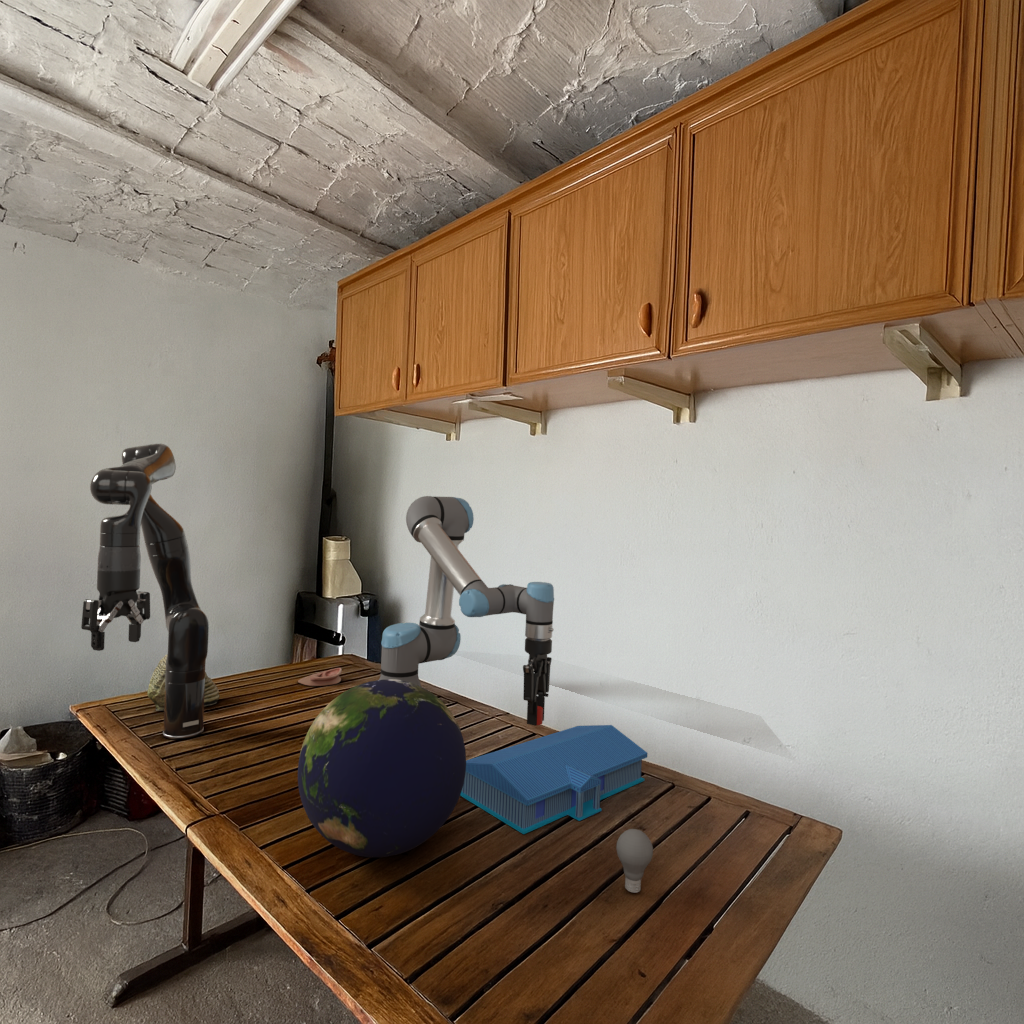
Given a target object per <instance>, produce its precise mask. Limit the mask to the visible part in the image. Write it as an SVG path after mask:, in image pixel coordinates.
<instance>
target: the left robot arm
mask: <svg viewBox="0 0 1024 1024" xmlns="http://www.w3.org/2000/svg"><path fill="white" fill-rule="evenodd" d="M172 451H173V450H172V449H171V447H169V446H168V445H167V444H165V443H152V444H144V445H138V446H131V447H127V448H124V449H123V451H122V452H121V462H122V464H121V465H120V466H113V467H106V468H102V469H100V470H99V471H97V472H96V473H95V474H94V475H93V477H92V479H91V480H90V483H89V488H90V489H89V490H90V494H91V496H92V498H93V499H94V500H95V501H96V502H98V503H100V504H103V505H115V506H117V505H118V506H129V508H128V510H127V511H126V512H125V513H123V514H119V515H112V516H106V517H104V518H102V520H101V522H100V528H99V549H98V555H97V572H96V575H97V576H96V590H97V591H98V593H99V595H98V598H97V599H88V598H86V599H84V601H83V603H82V615H81V625H80V626H81V627H80V628H81V630H82V631H83V630H85V631H89V632H90V638H91V639H90V647H91V648H92V650H93V651H98V652H101V651H104V650H105V637H106V634H105V633H106V632H105V630H106V628H107V626H108V624H111V622H113V620H114V619H117V618H120V617H125V618H126V619H127V620H128V621H129V624H128V642H131V643H139V642H140V639H141V636H142V624H143V623H144V621H146V620H147V621H148V620H150V618H151V593H150V592H148V591H142V590H141V591H139V589H140V587H141V560H142V559H141V549H140V546H141V533H142V536H143V541H144V544H145V548H146V552H147V556H148V560H149V562H150V566H151V569H152V571H153V575H154V577H155V579H156V582H157V584H158V586H159V590H160V592H161V596H162V597H161V598H162V602H163V603H162V604H163V608H164V619H165V628H166V630H167V633H168V635H167V636H168V637H167V653H166V655H167V658H166V674H165V705H164V710H163V731H162V737H164V738H166V739H169V740H185V739H190V738H191V739H192V738H194V737H197V736H199V735H202V734H203V732H204V730H205V729H204V722H205V721H204V718H205V706H204V693H205V672H206V664H207V663H206V662H207V658H208V653H209V652H208V651H209V633H210V626H209V625H210V624H209V619H208V618H209V617H208V616H207V615H206V613H205V612H204V611H203V610H202V609H201V607H200V605H199V602H198V600H197V596H196V594H195V590H194V587H193V585H192V584H193V583H192V570H191V569H192V566H191V556H190V548H189V545H188V540H187V537H186V533H185V530H184V527H183V526H182V525H181V524H180V523H179V522H178V521H177V520H176V519H175V518H174V517H173V515H171V514H170V513H168V512H167V511H166V510H165V509H164V508H162V506H160V505H159V503H157V501H156V500H155V499H154V497H153V496H152V494H151V493H152V485H154V484H155V483H157V482H159V481H160V482H161V481H164V480H168V479H170V478H172V477H173V476H174V475H175V473H176V470H177V469H176V467H177V466H176V459H175V456H174V453H173V452H172ZM141 531H142V532H141Z"/></svg>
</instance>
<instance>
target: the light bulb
mask: <svg viewBox="0 0 1024 1024" xmlns="http://www.w3.org/2000/svg"><path fill="white" fill-rule="evenodd" d="M615 849H616V854H617V857H618V859H619V861H620V863H621V865H622V867H623V873H624V874H623V875H624V876H625V878H624V888H625V890H627V891H628V892H630V893H634V894H635V893H639V892H640V891H641V889H642V887H641V886H642V879H643V877H644V875H645V871H646V868H647V867H648V866H649V864H650V863H651V861H652V859H653V855H654V847H653V843H652V841H651V838H649V836H648V835H647V834H646V833H645V832H643V831H642V830H641V829H636V828H629V829H627V830H625V831H623V832H622V833H621V834H620V835H619V837H618V839H617V841H616V847H615Z"/></svg>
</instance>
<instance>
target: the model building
mask: <svg viewBox="0 0 1024 1024" xmlns="http://www.w3.org/2000/svg"><path fill="white" fill-rule="evenodd" d="M648 755H649V754H648V751H646V750H644V749H643V748H642V747H640V746H639V744H637V743H635V742H634V741H633V740H632V739H630V738H629V736H626V734H624V733H623V732H621V731H620V730H619V729H618V728H616V727H615V726H614V725H612V724H596V725H595V724H592V725H576V726H574V727H569V728H566V729H564V730H560V731H556V732H553V733H550V734H548V735H544V736H541V737H537V738H534V739H530V740H528V741H524V742H521V743H518V744H514V745H511V746H509V747H505V748H502V749H499V750H496V751H492V752H489V753H485V754H482V755H479V756H476V757H473V758H470V759H466V773H465V779H464V784H463V788H462V791H461V794H460V797H462V798H463V799H465V800H466V801H468V802H470V803H471V804H472V805H475V806H476V807H478V808H479V809H481V810H483V811H485V812H486V813H487V814H490V815H491V816H493V817H494V818H495V819H498V820H499V821H501V822H502V823H503V824H506V825H508V826H509V827H511V828H512V829H514V830H515V831H517V832H519V834H522V835H526V834H528V833H530V832H533V831H535V830H537V829H540V828H542V827H544V826H546V825H548V824H550V823H552V822H556V821H557V820H559V819H562V818H563V817H566V816H569V817H571V818H573V819H574V820H576V821H578V822H581V821H583V820H585V819H587V818H589V817H592V816H594V815H596V814H598V813H600V812H602V808H601V801H602V800H604V799H606V798H609V797H611V796H613V795H616V794H617V793H620V792H622V791H624V790H627V789H629V788H631V787H634V786H636V785H639V784H641V783H642V782H645V781H646V780H645V778H644V777H642V763H643V762H642V761H643V760H645V759H647V758H648Z"/></svg>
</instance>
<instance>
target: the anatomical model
mask: <svg viewBox="0 0 1024 1024" xmlns="http://www.w3.org/2000/svg"><path fill="white" fill-rule="evenodd" d="M342 671H343V669H342V667H335V668H331V669H328V670H324V671H320V672H317V673H313V674H310V675H308V676H304V677H302V678H300V679H298V680H297V683H299V684H301V685H305V686H309V687H316V686H317V687H321V686H331V685H336V684H339V683H340V682H341V681H342V678H341V676H340V675H342Z"/></svg>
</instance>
